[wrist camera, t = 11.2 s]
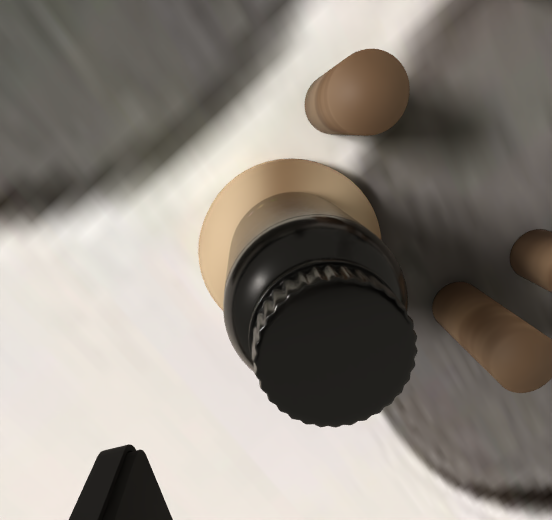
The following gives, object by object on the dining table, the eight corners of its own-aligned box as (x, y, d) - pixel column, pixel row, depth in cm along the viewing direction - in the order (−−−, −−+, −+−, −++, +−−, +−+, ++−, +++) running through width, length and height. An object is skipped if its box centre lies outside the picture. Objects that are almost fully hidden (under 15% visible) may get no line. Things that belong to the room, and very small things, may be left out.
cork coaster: (358, 138, 24) (363, 138, 23) (389, 306, 26) (395, 313, 25) (177, 184, 24) (174, 186, 23) (227, 347, 26) (226, 355, 26)
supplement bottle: (376, 268, 25) (492, 388, 13) (273, 331, 25) (298, 498, 14) (313, 162, 23) (384, 193, 11) (204, 233, 23) (165, 331, 12)
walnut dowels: (703, -138, 21) (917, -264, 14) (689, 269, 27) (835, 314, 20) (275, -28, 21) (289, -102, 14) (356, 353, 27) (393, 425, 20)
